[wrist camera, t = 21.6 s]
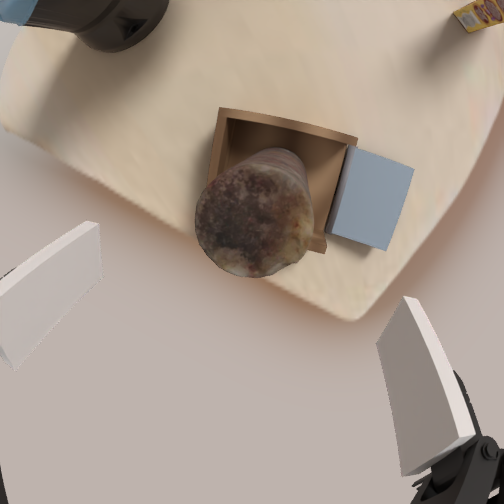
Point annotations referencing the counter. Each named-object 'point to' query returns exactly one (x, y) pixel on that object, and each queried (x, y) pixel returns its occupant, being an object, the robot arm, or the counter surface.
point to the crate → (292, 138)
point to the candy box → (481, 14)
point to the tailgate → (369, 198)
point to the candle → (257, 214)
